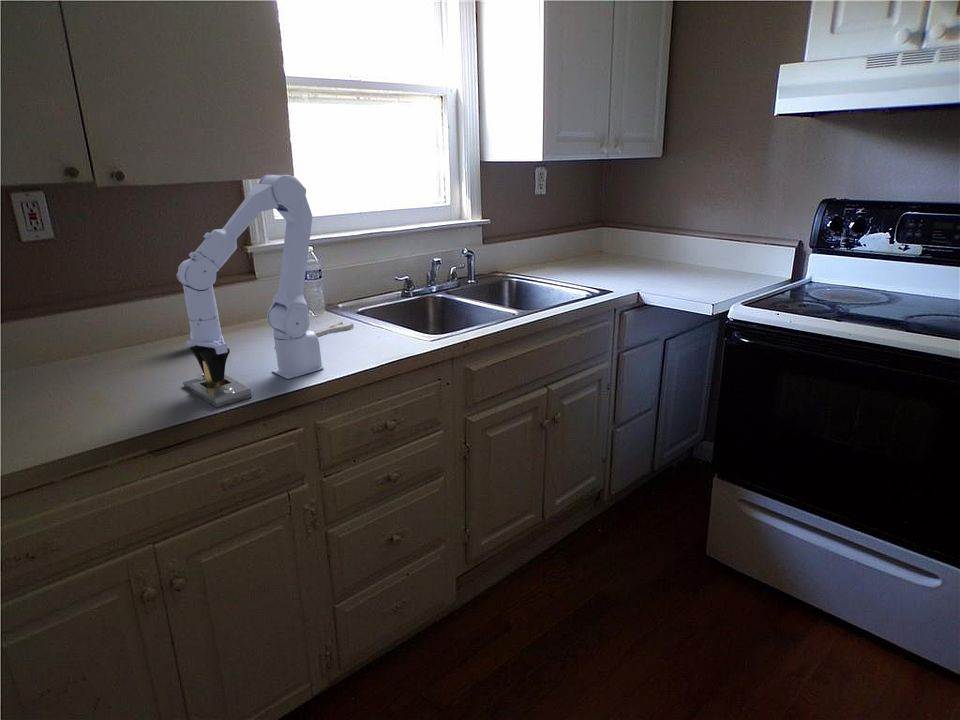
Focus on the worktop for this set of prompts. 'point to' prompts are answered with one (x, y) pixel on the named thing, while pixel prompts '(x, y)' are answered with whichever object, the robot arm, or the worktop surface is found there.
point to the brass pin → (208, 378)
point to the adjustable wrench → (334, 328)
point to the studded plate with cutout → (218, 390)
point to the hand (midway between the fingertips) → (214, 378)
